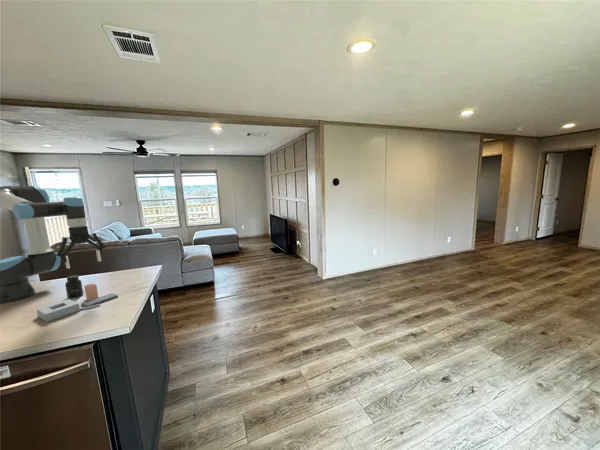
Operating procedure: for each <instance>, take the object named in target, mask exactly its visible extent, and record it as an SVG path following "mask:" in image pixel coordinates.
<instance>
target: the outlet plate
mask: <svg viewBox="0 0 600 450" xmlns="http://www.w3.org/2000/svg"><path fill="white" fill-rule="evenodd" d="M80 308H81V307H80V302H77V301H74V300H72V299H70V298H67V299H64V300H61V301H58V302H55V303H51V304H49V305H45V306H42V307H39V308H36V313H37V317H38V318H39V319H41V320H42V321H44V322H45V323H50V322H52V321H54V320H58V319H61V318H64V317H67V316H69V315H72V314H75V313H78V312H81V310H80Z"/></svg>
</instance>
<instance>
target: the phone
mask: <svg viewBox="0 0 600 450" xmlns="http://www.w3.org/2000/svg"><path fill="white" fill-rule="evenodd" d="M116 298H119V296H118V295H117V294H115V293H108V294H106V295H103V296H98V298H95V299H92V300H88V301H84V302H81V303H80V306H82V307H83V308H84V307H88V306H93V305H98V304H103V303H105V302H108V301H110V300H111V301H112V300H114V299H116Z"/></svg>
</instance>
